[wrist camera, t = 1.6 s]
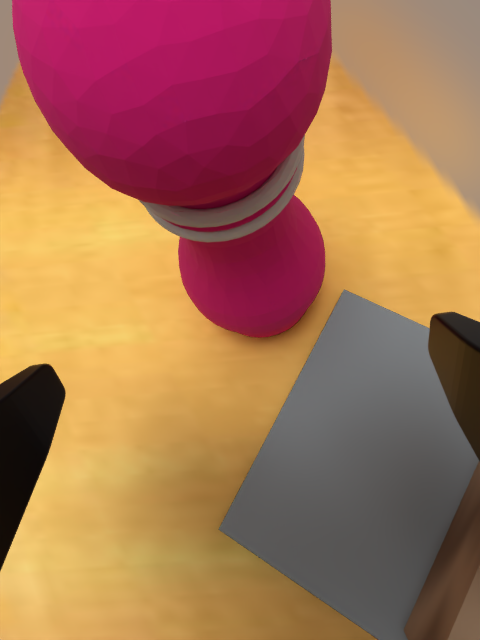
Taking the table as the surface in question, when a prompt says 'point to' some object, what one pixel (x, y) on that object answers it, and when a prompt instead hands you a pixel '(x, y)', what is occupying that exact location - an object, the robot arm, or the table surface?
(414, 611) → the stop bar
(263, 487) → the mat
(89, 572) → the table surface
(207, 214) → the pepper mill
